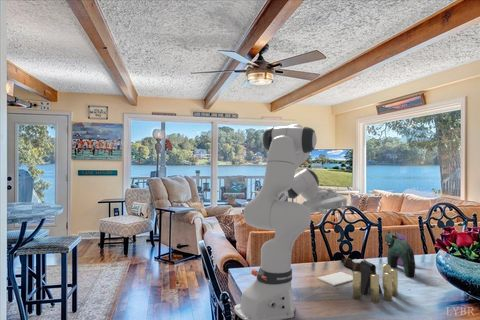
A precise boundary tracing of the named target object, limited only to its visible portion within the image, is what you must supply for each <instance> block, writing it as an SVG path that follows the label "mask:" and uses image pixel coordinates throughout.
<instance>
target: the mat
mask: <svg viewBox="0 0 480 320" xmlns="http://www.w3.org/2000/svg"><path fill="white" fill-rule="evenodd" d="M316 280H319V281H321V282H323V283H325V284H328V285H329V286H332V287H335V286H339V285H343V284H348V283H350V282H353V275H351V274H349V273H346V272H343V271H338V272H333V273H330V274H326V275H322V276H318V277H316Z"/></svg>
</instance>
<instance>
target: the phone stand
mask: <svg viewBox="0 0 480 320" xmlns="http://www.w3.org/2000/svg"><path fill="white" fill-rule="evenodd" d="M360 262H361V263H360ZM360 262H359V263H360V271H359V272H361V296H371V274H377V267H376V264H374V263H372V262H369V261H366V260H360ZM379 294H383V290H382V288H381V285H380V283H379Z"/></svg>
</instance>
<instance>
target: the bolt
mask: <svg viewBox="0 0 480 320" xmlns="http://www.w3.org/2000/svg"><path fill="white" fill-rule="evenodd" d="M340 262H341V264H343V265H344V267H345V268H350V269H353V270H354V271H358V272H359V271H360V263H361V261H359V262H355V261H353V260H352V258H350V257H342V258H341V261H340Z"/></svg>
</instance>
